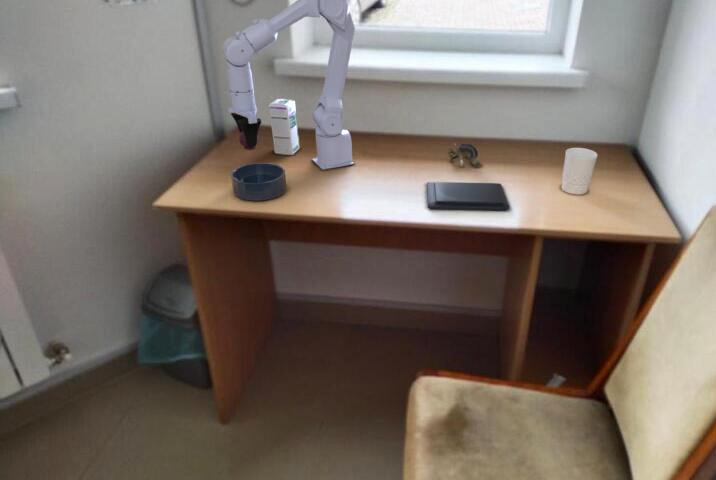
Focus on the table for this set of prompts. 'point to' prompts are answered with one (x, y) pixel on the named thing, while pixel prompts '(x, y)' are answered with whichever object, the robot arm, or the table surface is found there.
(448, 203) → the wallet
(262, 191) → the bowl
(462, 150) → the chipmunk toy
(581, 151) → the white cup
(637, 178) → the table surface
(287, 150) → the syrup box
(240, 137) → the plum
